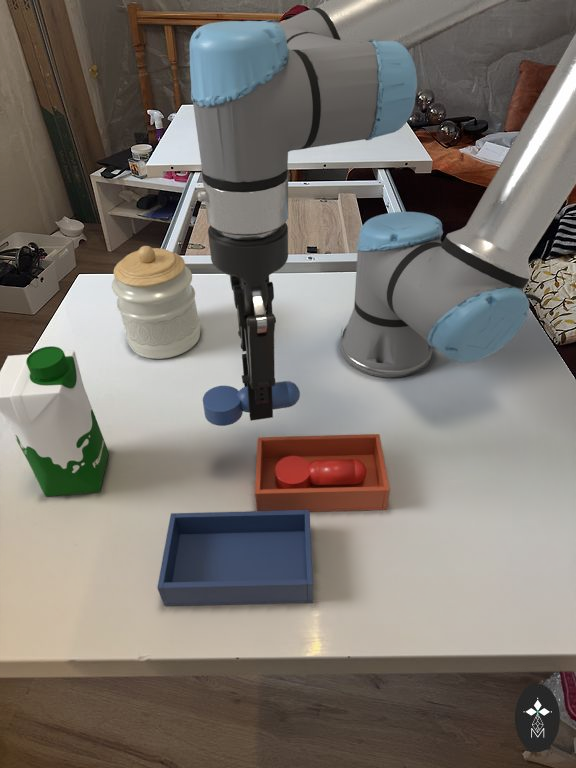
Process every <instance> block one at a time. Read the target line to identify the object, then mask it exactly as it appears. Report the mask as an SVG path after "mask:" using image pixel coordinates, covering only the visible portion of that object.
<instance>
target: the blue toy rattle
mask: <svg viewBox="0 0 576 768" xmlns="http://www.w3.org/2000/svg"><path fill="white" fill-rule="evenodd" d="M300 397H301V391H300V388H299V387H298V385H297V384H296V383H294V382H292V381H291V380H284V381H276V382H275V386H272V405H273V410H278V409H279V410H280V409H287V408H291V407H293V406H295V405H296V404H297V403H298V402H299V400H300ZM202 405H203V412H204V418H205V419H206V421H208V422H209V423H210V424H211V425H214V426H219V427H226V426H230V425H233V424H235V423H237V422H238V421H240V419H241V418H242V416H243V413H248V414H249V401H248V388H247V386H246V387H245V386H244V387H241V388H240V389H237V388H235V387H234V386H231V385H218V386H214V387H212V388H210V389H208V390H207V391H206V392H205V393H204V395H203V397H202Z"/></svg>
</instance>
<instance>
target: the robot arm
mask: <svg viewBox="0 0 576 768" xmlns="http://www.w3.org/2000/svg"><path fill="white" fill-rule="evenodd" d="M508 1H510V0H327V1H325V2H322V3H321V4H319V5H316V6H315V7H312V8H310V9H308V10H306V11H305V10H304V11H303V12H300V13H298V14H296V15H294V16H292V17H290V18H288V19H286V20H284V21H280V20H276V19H267V20H260V21H259V20H243V21H241V20H228V21H216V22H210V23H206V24H204V25H201V26H200V27H198V28H197V29H196V30H194V31H193V33H192V35H191V37H190V40H189V48H188V49H189V72H190V88H191V90H190V99H191V102H192V104H193V105H192V106H193V113H194V120H195V127H196V135H197V136H196V137H197V142H198V149H199V158H200V165H201V174H202V185H203V188H204V189H202V190H198V191H197V192H196V198H197V201H199V202H200V203H201V202H202V203H205V211H206V218H207V222H208V224H209V226H208V229H207V234H208V244H209V253H210V260H211V263H212V265H213V266H214V268H215V269H216V270H217V271H219V272H221V273H222V274H224V275H227V276H229V281H230V287H231V290H232V292H233V301H234V306H235V309H236V310H237V312H236V313H237V324H238V331H237V334H238V337H239V339H240V342H241V343H240V349H241V351H242V354H241V359H242V372H243V375H241V380H242V384H244V385H243V386H244V387H246V386H247V388H248V401H249V413H248V414H249V420H250V421H251V422H252V421H258V420H264V419H265V420H266V419H271V418H274V411H273V410H274V409H273V405H272V386H275V382H277V381H276V375H275V370H276V369H275V367H276V366H275V330H276V329H275V328H276V323H277V318H276V316H275V314H274V313H273V300H274V299H275V289H274V283H273V281H270V275H272V274H274V273H275V272H277V271H279V270H281V269H282V268H283V267H284V266H285V265H286V264H287V262H288V260H289V259H288V258H289V227H288V224H287V221H288V219H289V174H288V173H289V172H288V168H289V167H288V163H289V153H290V152H292V151H300V150H306V149H311V148H319V147H325V146H331V145H337V144H344V143H351V142H357V141H363V140H365V141H372V140H373V139H375V138H378V137H382V136H385V135H389V134H393V133H396V132H397V131H399V130H401V129H402V128H403V127H404V126H405V125H406V124H407V122H408V121H409V119H410V117H411V115H412V113H413V111H414V109H415V104H416V98H417V97H416V96H417V95H416V93H417V91H418V90H417V89H418V75H417V68H416V65H415V62H414V60H413V57H412V55H411V53H410V52H409V50H412V49H414V48H415V47H418V46H420V45H421V44H424V43H425V42H428V41H430V40H431V39H433V38H435V37H438V36H440V35H442V34H444V33H446V32H448V31H450V30H452V29H454V28H456V27H458V26H460V25H462V24H464V23H466V22H468V21H470V20H472V19H474V18H476V17H478V16H480V15H482V14H484V13H486V12H488V11H490V10H492V9H494V8H497V7H498V6H501V5H502V4H504V3H506V2H508ZM514 1H515V2H520V3H526V2H529V1H531V0H514ZM575 186H576V32H575V33H574V35H573V37H572V39H571V40H570V42H569V44H568V46H567V47H566V49H565V51H564V53H563V54H562V56H561V57H560V60H559V62H558V63H557V65H556V66H555V68H554V70H553V72H552V73H551V75H550V77H549V79H548V81H547V83H546V84H545V86H544V88H543V89H542V91H541V93H540V94H539V97H538V99H537V100H536V102H535V103H534V105H533V107H532V109H531V110H530V113H529V114H528V115H527V117H526V119H525V121H524V123H523V124H522V126H521V128H520V130H519V131H518V133H517V135H516V137H515V139H514V141H513V142H512V144H511V146H510V148H509V149H508V151H507V152H506V154H505V156H504V158H503V160H502V161H501V163H500V165H499V167H498V168H497V170H496V172H495V174H494V176H493V177H492V179H491V181H490V182H489V184H488V186H487V188H486V190H485V191H484V193H483V195H482V196H481V198H480V200H479V202H478V203H477V204H476V207H475V209H474V210H473V212H472V214H471V216H470V217H469V219H468V220H467V223H466V225H465V226H463V227H462V228H460V229H457V230H455V231H452V232H448V233H447V234H446V235H445V237H444V239H443V241H442V237H443V233H444V230H443V224H442V221H441V219H439V218H438V217H435V216H434V215H431V214H428V213H424V212H416V211H394V212H386V213H384V214H383V213H382V214H379V215H376V216H373V217H371V218H369V219H367V220H366V221H365V222H364V224H362V226H361V228H360V230H359V234H358V240H357V245H356V251H357V255H356V270H355V289H354V303H353V304H354V305H353V309H352V311H351V315H350V316H349V320H348V322H347V324H346V325H345V327H344V329H343V330H341V333H340V335H341V337H340V350H341V351H340V352H341V354H342V356H343V359H344V360H345V361H346V362H347V363H348V364H349V365H350V366H352V367H353V368H354V369H356V370H358V371H360V372H362V373H364V374H367V375H371V376H374V377H379V378H401V377H407V376H411V375H413V374H416V373H418V372H420V371H422V370H423V369H424V368H425V367H427V366H428V364H429V363H430V362H431V359H432V356H433V350H436V351H438V352H440V353H441V354H442V355H444V356H445V357H447V358H448V359H450V360H451V361H453V362H457V363H472V362H477V361H480V360H484V359H486V358H487V357H489V356H490V355H493V354H495V353H496V352H498V351H500V350H501V349H502V348H503V347H505V346H506V345H507V344H509V342H510V341H511V340H512V339H513V338H514V337H515V336H516V335H517V334H518V333H519V331H520V330H521V328H523V326H524V324H525V322H526V321H527V320H526V319H527V318H528V316H529V315H528V311H529V310H530V301H529V299H530V300H533V301H535V302H536V303H542V302H543V301H542V298H540V297H538V296H536V295H534V294H530V293H525V292H524V291H523V290H524V289H525V287H526V285H527V284H528V283H529V281H530V279H531V277H532V273H531V267H530V264H529V258H530V256H531V254H532V253H533V252H534V250H535V248H536V247H537V245H538V244H539V242H540V240H541V239H542V237H543V236H544V235H545V233H546V232H547V230H548V229H549V226H550V225H551V224H552V222H553V220H554V218H555V217H556V215H557V214H558V213H559V211H560V210H561V208H562V206H563V204H564V203H565V201H566V200H567V198H568V197H569V195H570V194H571V193H572V191H573V189H574V188H575ZM243 352H245V353H243Z"/></svg>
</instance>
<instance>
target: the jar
mask: <svg viewBox="0 0 576 768" xmlns="http://www.w3.org/2000/svg"><path fill="white" fill-rule="evenodd" d="M113 276H114V278H113V280H112V282H111V289H112V292H113V293H114V295H115V296H117V300H116V308H117V309H118V311H119V313H120V316H121V320H122V325H123V327H124V335H125V338H126V342H127V344H128V345H129V346H130V348H131V349H132V351H133V352H134V353H135V354H136V355H139V356H140V357H143V358H147V359H154V360H155V359H156V360H158V359H160V360H161V359H169V358H173V357H177V356H180V355H183V354H184V353H186V352H188V351H190V350H191V349H192V348H193V347H194V346H195V345H196V344H197V343H198V342H199V340H200V337H201V329H202V328H201V320H200V317H199V314H198V310H197V309H198V308H197V303H196V291H195V288H194V287H193V285H192V284H191V283H192V280H193V273H192V271H191V269H190V268H189V267H187V266H186V262H185V260H184V258H183V257H182V256H181V255H180V254H178V253H176V252H173V251H171V250H168V249H165V248H161V247H159V248H157V247H152V246H149V245H142V246H141V247H139V249H138V250H136V251H133V252H131V253H129V254H127V255H126V256H124V258H122V259H121V260H120V261H118V262H117V264H116V265H115V266H114V269H113Z"/></svg>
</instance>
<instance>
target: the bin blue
mask: <svg viewBox="0 0 576 768" xmlns="http://www.w3.org/2000/svg"><path fill="white" fill-rule="evenodd" d="M310 514H311V513H310V511H309V510H286V511H257V510H254V511H252V510H250V511H249V510H248V511H215V512H213V511H212V512H211V511H209V512H208V511H207V512H171V513H170V516H169V521H168V527H167V533H166V538H165V543H164V550H163V555H162V560H161V565H160V570H159V576H158V582H157V587H156V588H157V591H158V593H159V596H160V598H161V601H162V604H163V607H172V606H173V607H177V606H180V607H181V606H216V605H218V606H221V605H223V606H224V605H262V604H263V605H264V604H267V605H268V604H304V603H305V604H306V603H307V604H308V603H309V604H310V603H314V575H313V556H312V555H313V554H312V552H313V551H312V533H311V515H310Z"/></svg>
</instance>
